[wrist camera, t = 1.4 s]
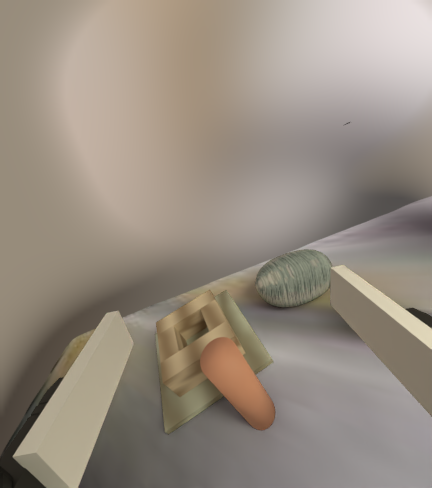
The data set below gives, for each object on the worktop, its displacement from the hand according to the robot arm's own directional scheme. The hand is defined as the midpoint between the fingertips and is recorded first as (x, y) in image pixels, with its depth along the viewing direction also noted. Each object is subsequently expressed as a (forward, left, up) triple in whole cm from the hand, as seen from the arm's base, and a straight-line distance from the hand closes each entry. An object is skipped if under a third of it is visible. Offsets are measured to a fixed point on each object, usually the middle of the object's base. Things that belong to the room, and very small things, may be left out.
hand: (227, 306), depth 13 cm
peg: (+3, -4, -23) cm, 24 cm away
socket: (+7, -17, -23) cm, 29 cm away
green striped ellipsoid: (-13, -16, -23) cm, 31 cm away
